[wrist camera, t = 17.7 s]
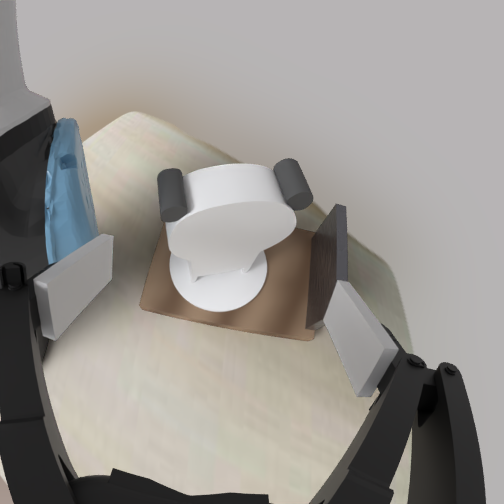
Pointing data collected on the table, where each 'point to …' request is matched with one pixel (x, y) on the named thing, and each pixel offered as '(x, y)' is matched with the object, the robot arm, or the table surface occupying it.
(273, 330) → the shelf board
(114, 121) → the table surface
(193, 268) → the panda figurine
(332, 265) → the bookend
